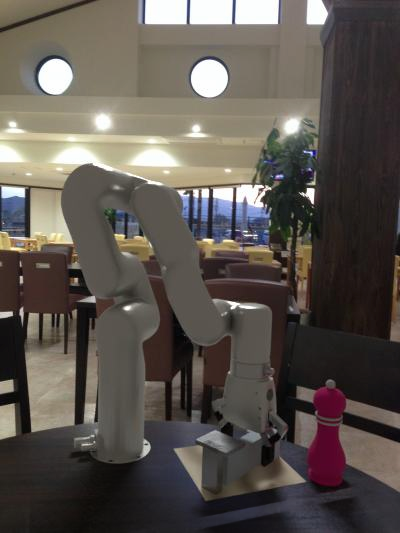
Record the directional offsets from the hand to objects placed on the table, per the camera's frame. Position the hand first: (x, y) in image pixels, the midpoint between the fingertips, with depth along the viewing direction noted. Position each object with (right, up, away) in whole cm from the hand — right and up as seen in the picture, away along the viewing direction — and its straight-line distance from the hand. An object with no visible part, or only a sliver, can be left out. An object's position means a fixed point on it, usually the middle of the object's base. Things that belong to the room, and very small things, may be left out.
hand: (246, 454), depth 87 cm
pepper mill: (+15, -5, -2) cm, 16 cm away
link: (0, -3, +1) cm, 3 cm away
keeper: (-5, -4, -5) cm, 8 cm away
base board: (-2, -4, +2) cm, 4 cm away
